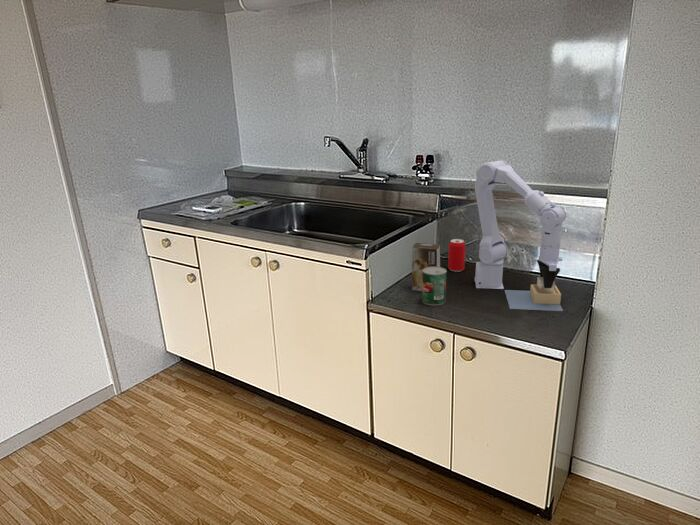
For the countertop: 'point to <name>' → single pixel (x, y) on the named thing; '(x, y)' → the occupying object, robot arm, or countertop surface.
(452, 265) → the beverage can
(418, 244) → the coffee box
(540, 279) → the cream block
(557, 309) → the board
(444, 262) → the countertop surface
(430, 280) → the canned tomato
